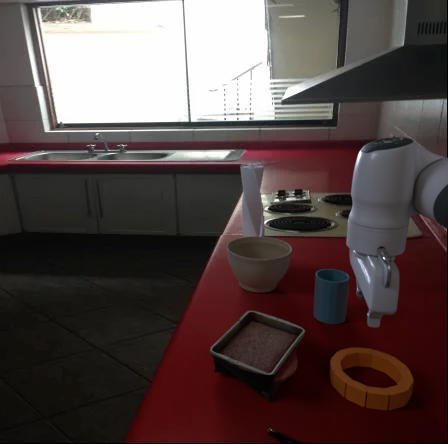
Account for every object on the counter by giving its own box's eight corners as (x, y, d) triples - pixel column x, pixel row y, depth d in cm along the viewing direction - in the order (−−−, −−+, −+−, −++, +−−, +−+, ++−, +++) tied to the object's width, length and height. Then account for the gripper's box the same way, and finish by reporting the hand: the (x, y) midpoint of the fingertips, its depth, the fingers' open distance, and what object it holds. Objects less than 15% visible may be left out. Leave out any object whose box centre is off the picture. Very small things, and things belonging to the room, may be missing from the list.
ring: (398, 365, 76) (400, 351, 75) (420, 415, 65) (423, 399, 64) (326, 357, 79) (327, 344, 78) (334, 404, 68) (336, 388, 67)
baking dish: (312, 374, 78) (315, 323, 77) (266, 417, 65) (268, 357, 64) (245, 351, 88) (246, 306, 86) (193, 385, 75) (193, 332, 73)
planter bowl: (284, 304, 99) (286, 262, 96) (219, 294, 106) (218, 254, 103) (294, 276, 113) (296, 239, 110) (236, 269, 120) (236, 233, 116)
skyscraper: (266, 247, 134) (268, 160, 125) (240, 247, 135) (240, 161, 127) (264, 238, 142) (265, 156, 133) (240, 238, 143) (240, 157, 135)
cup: (343, 309, 96) (346, 269, 92) (348, 325, 89) (351, 283, 86) (311, 307, 97) (314, 268, 94) (314, 322, 91) (317, 281, 88)
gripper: (416, 263, 59) (403, 347, 63) (382, 219, 78) (374, 286, 82) (367, 260, 61) (358, 342, 65) (346, 218, 79) (339, 284, 84)
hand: (366, 310), depth 74 cm, fingers open, 8 cm apart
